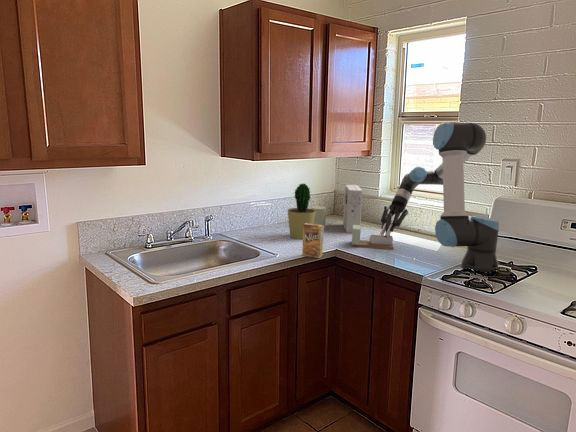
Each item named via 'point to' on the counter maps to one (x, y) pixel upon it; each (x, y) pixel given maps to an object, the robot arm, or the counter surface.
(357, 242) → the socket block
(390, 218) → the upright peg on base
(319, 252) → the candy box
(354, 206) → the white upright box
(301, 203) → the potted cactus
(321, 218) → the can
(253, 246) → the counter surface
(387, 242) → the sleeve
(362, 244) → the base board
